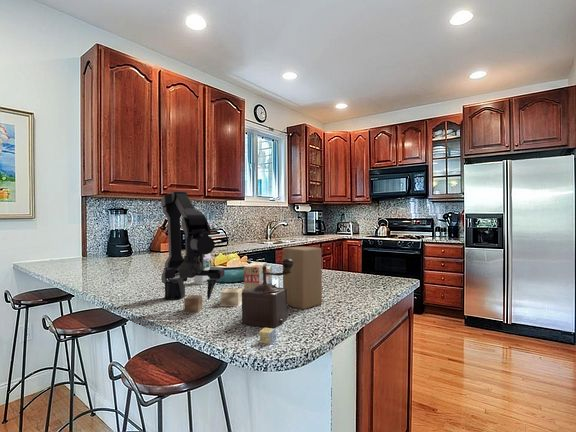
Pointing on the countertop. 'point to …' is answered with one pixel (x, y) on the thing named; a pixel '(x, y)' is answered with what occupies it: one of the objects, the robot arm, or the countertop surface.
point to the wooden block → (303, 277)
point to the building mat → (231, 305)
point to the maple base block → (231, 297)
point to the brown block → (193, 303)
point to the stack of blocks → (255, 275)
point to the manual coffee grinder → (266, 302)
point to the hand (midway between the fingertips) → (194, 299)
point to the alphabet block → (267, 335)
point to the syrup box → (207, 264)
